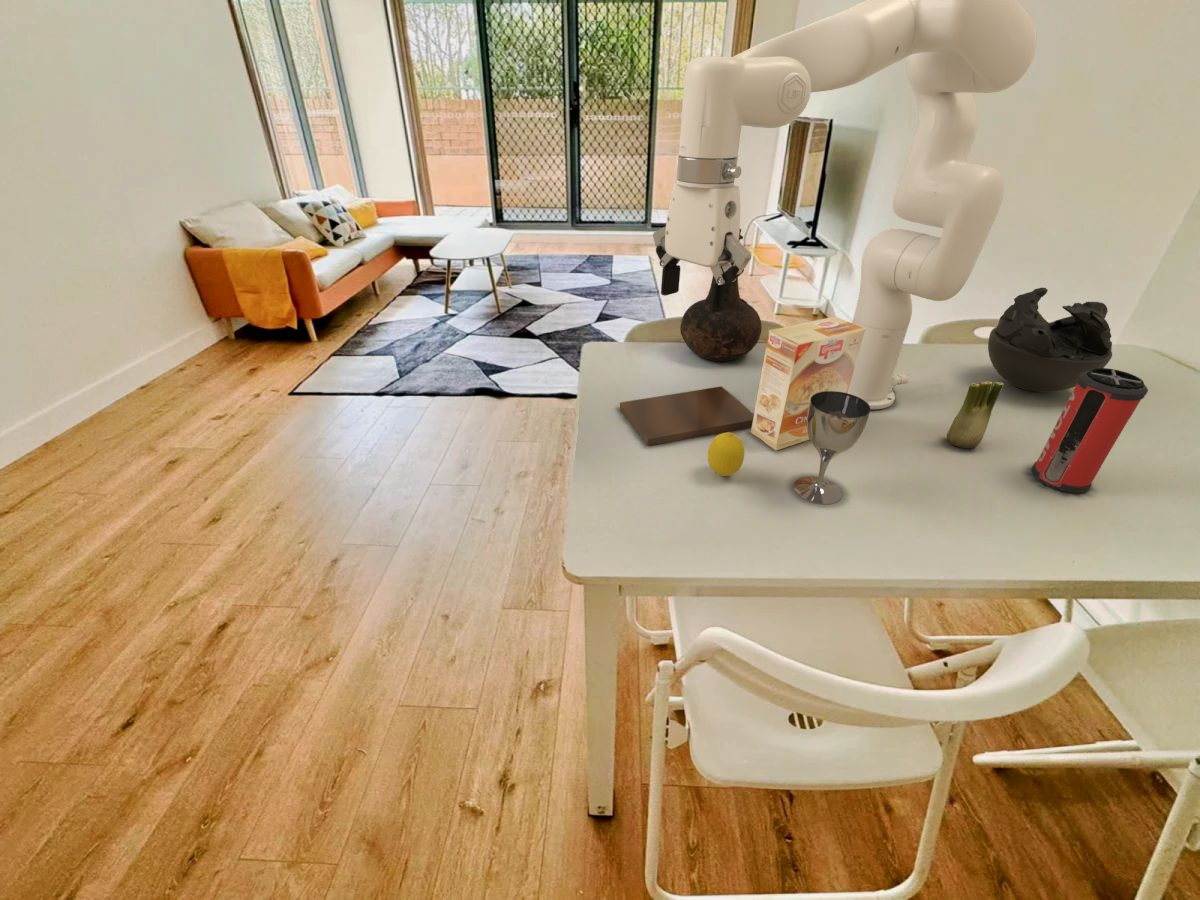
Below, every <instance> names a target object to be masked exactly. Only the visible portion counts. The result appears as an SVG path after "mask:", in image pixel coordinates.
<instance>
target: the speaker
mask: <svg viewBox="0 0 1200 900" xmlns="http://www.w3.org/2000/svg"><path fill="white" fill-rule="evenodd" d="M1148 392H1149V389H1148V387H1147V386H1146V384H1145V382H1144V380H1143V379H1142V378H1140V377H1138V376H1136V375H1134V374H1132V373H1130V372H1126V371H1123V370H1118V369H1113V368H1106V367H1104V368H1094V369H1091V370H1089V371H1086V372H1083V373H1081V374H1080V375H1079V377H1078V379H1077V384H1076V386H1075V387H1073V390H1072V392H1071V394H1070V396H1069V398H1068V400H1067V402H1066V404H1065V406H1064V408H1063V410H1062V411H1061V414H1060V416H1059V418H1058V420H1057V421H1056V423H1055V425H1054V426H1053V429H1052V431H1051V432H1050V435H1049V437H1048V439H1047V440H1046V442H1045V445H1044V447H1043V448H1042V450H1041V452H1040V454H1039V456H1038V458H1037V461H1035V462H1034V463H1033V465H1032V467H1031V473H1032V475H1033V476H1034V478H1035V479H1036V480H1037V481H1038V482H1040V483H1041V484H1043V485H1046V486H1048V487H1051V488H1052V489H1054V490H1056V491H1059V492H1063V493H1076V494H1077V493H1078V494H1080V493H1085V492H1088V491H1090V490H1091V488H1092V483H1093V481H1094V479H1095V478H1096V476H1097V474H1099V471H1100V470H1101V468H1102V466H1103V464H1104V462H1105V460H1106V459H1107V457H1108V455H1109V454H1110V453H1111V450H1112V449H1113V447H1114V446H1115V443H1116V442H1117V440H1118V439H1119V437H1120V435H1121V433H1122V432H1123V431H1124V428H1125V427H1126V425H1127V423H1128V422H1129V420H1130V419H1131V417H1132V416H1133V414H1134V412H1135V411H1136V409H1137V407H1138V406H1139V404H1140V402H1141V401H1142V400H1143V399H1144V398H1145V396H1146V395H1147V394H1148Z"/></svg>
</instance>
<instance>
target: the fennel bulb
mask: <svg viewBox="0 0 1200 900" xmlns="http://www.w3.org/2000/svg"><path fill="white" fill-rule="evenodd" d="M992 385H993V386H992ZM1003 387H1004V383H1003V382H998V381H997V382H996V381H995V382H994V384H993V381H983V382H980V383H976V382H975V383H973V382H972V383H970V384H969V386H968V390H967V392H966V395H965V398H964V400H963V404H962V406H961V407H960V409H959V411H958V413H957V414H956V415H955V417H954V418H953V420H952V423H951V425H950V427H949V429H948V431H947V434H946V439H947V441H948V442H949V444H951V445H952V446H955V447H959V448H962V449H973V448H976V447H977V446H979V444H980V443H981V441H982V440H983V439H984V436H985V433H986V431H987V428H988V425H989V422H990V418H991V416H992V411H993V409H994V407H995V404H996V402H997V400H998V397H999V395H1000V393H1001V391H1002V389H1003Z"/></svg>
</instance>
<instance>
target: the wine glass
mask: <svg viewBox="0 0 1200 900" xmlns="http://www.w3.org/2000/svg"><path fill="white" fill-rule="evenodd" d="M870 413H871V410H870V406H869V404H868V403H867V402H866V401H864V400H863V399H861V398H859V397H857V396H854V395H851V394H848V393H843V392H836V391H825V392H819V393H816V394H814V395H813V396H812V397H811V399H810V403H809V407H808V413H807V434H808V437H809V441H810V443H811V444H812V445H813V447H814V448H815V450H816V451H817V453H818V455H819V459H820V462H819V470H818V474H817V476H813V475H807V476H802V477H798V478H797V479H796V480H795V481H794V482H793V485H792V486H793V490H794V492H795V493H796V495H798V496H799V497H800V498H802V499H804V500H806V501H808V502H810V503H814V504H819V505H832V504H835V503H837V502H839V501H840V500H841V499H842V496H843V492H842V490H841V488H840V487H839V485H837V484H836V483H835V482H833V481H831V480H829V479H827V478H824V477H825V474H826V471H827V469H828V466H829V464H830V462H831V461H832V460H833V459H834V458H835V457H836V456H839V455H841V454H843V453H845V452H847V451H848V450H850V449H852V448H853V447H854V446H855V445H856V443H857V442H859V440H860V438H861V436H862V435H863V432H864V431H865V428H866V425H867V422H868V420H869V416H870Z"/></svg>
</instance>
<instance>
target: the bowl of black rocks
mask: <svg viewBox="0 0 1200 900" xmlns="http://www.w3.org/2000/svg"><path fill="white" fill-rule="evenodd" d="M1048 291H1049V289H1047V287H1038V288H1035V289H1033V290H1032V291H1029V292H1025V293H1022V294H1018V295H1017V296H1016V297H1015V298H1013V301H1014V303H1013V304H1011V305H1009V307H1008V308H1007V309H1005V310H1004V312H1003V314H1002V315H1001V316H999V320H998V323H997V325H996V327H994V328H993V329H992V330H991V331H990V333H989V337H988V342H987V350H988V357H989V360H990V362H991V364H992V365H991V366H992V367H993V368H994V370H995V372H997V374H998V375H999V376H1000V377H1001V378H1002V379H1003V380H1005V381H1006V382H1007V383H1009V384H1011V385H1013V386H1015V387H1017V388H1018V389H1019V388H1020V389H1022V390H1025V391H1030V392H1035V393H1056V392H1061V391H1066V390H1069V389H1072V388H1073V389H1074V388H1075V386H1076V384H1077V379H1078V377H1079V375H1080V374H1081V373H1083V372H1086V371H1089V370H1091V369H1094V368H1106V366H1107V365H1108V364H1109V362H1110V361H1111V359H1112V357H1113V351H1112V349H1113V348H1112V346H1113V342H1112V340H1111V338H1112V333H1111V328H1110V325H1109V323H1108V321H1107V320H1106V316H1107V315H1108V312H1109V311H1108V307H1107V305H1106V303H1104V302H1101V301H1085V302H1083V303H1081V302H1074V303H1073V304H1072V305H1062V307H1061V308H1062V309H1064V310H1065V311H1066V312H1067V313H1069V314H1070V315H1069V316H1066V317H1063V318H1059V319H1056V320H1054V321H1051V322H1049V321H1047V320H1046V319H1045V318H1044V317H1043V315H1042V314H1041V313H1040V311H1039V302H1040V300H1041V299H1042V298H1043V297H1044V296H1045V295H1046V294H1047V293H1048Z"/></svg>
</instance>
